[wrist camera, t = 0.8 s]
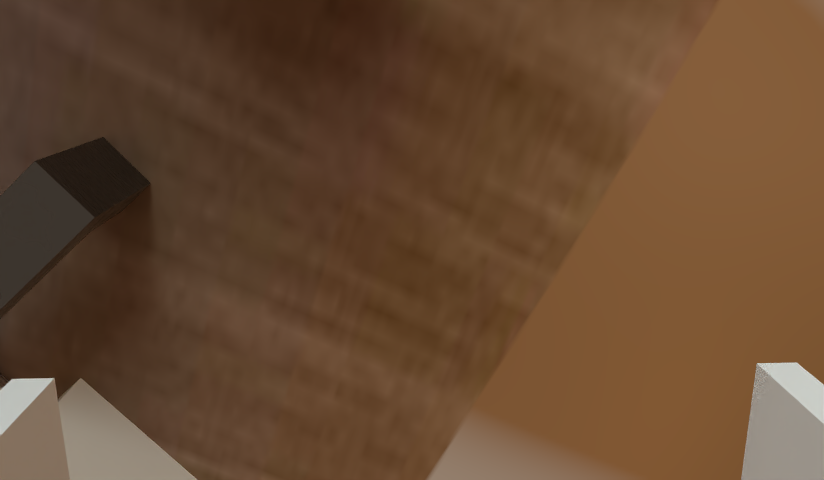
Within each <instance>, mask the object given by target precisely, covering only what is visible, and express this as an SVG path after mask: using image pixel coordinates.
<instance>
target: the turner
mask: <svg viewBox="0 0 824 480" xmlns="http://www.w3.org/2000/svg"><path fill="white" fill-rule="evenodd" d="M149 184H150V182H149V181H148V180H147V179H146V178H145V177H144V176H143V175H142V174H141V173H140V172H139V171H137V170H136V169H135V168H134V167H133V166H132V165H131V164H130V163H129V162H128V161H127V160H126V159H125V158H124V157H123V156H122V155H121V154H120V153H119V152H118V151H117V150H116V149H115V148H114V147H113V146H112V145H111V144H110V143H109V142H108V141H107V140H106V139H105V138H104V137H102V138H100V139H97V140H94V141H91V142H88V143H85V144H82V145H80V146H77V147H74V148H71V149H68V150H65V151H62V152H60V153H57V154H54V155H51V156H48V157H45V158H42V159H40V160H37V161H34V162H33V163H32V165H31V166H30V167H29V168H28V169H27V170H26V171H25V172H24V173H23V174H22V175H21V176H20V177H19V178H18V179H17V180H16V181H15V182H14V183H13V184H12V185H11V186H10V187H9V188H8V189H7V190H6V191H5V192H4V193H3V194H2V195H1V196H0V319H1V318H2V317H3V316H4V315H5V314H6V313H7V312H8V311H9V310H10V309H11V308H12V307H13V306H14V305H15V304H16V303H17V302H18V301H19V300H20V299H21V298H22V297H24V296H25V295H26V294H27V293H28V292H29V291H30V290H31V289H32V288H33V287H34V286H35V285H36V284H37V283H38V282H39V281H40V280H41V279H42V278H43V277H44V276H45V275H46V274H47V273H48V272H49V271H50V270H51V269H52V268H53V267H54V266H55V265H56V264H57V263H58V262H59V261H60V260H61V259H62V258H64V257H65V256H66V255H67V254H68V253H69V252H70V251H71V250H72V249H73V248H74V247H75V246H76V245H77V244H78V243H79V242H80V241H81V240H82V239H83V238H84V237H85V236H86V235H87V234H88V233H89V232H90V231H92V230H93V229H95V228H96V227H98V226H99V225H101V224H103V223H104V222H106V221H107V220H109V219H110V218H112V217H113V216H115V215H116V214H118V213H120V212H121V211H123V210H124V209H125V208H126V207H127V206H128V205H129V204H130V203H131V202H132V201H133V200H134V199H135V198H136V197H137V196H138V195H139V194H140V193H141V192H142V191H143V190H144V189H145V188H146V187H147V186H148V185H149ZM8 382H9V381H8V380H7V379H6V378H5V377H4V376H2V375H1V374H0V390H1V389H2V388H3V387H4V386H5V385H6V384H7V383H8Z"/></svg>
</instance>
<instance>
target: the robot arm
mask: <svg viewBox="0 0 824 480" xmlns="http://www.w3.org/2000/svg"><path fill="white" fill-rule="evenodd" d="M0 480H70V476H69V470H68V463H67V457H66V450H65V443H64V437H63V430H62V424H61V417H60V411H59V404H58V398H57V391H56V385H55V378H33V379H12V380H11V381H9V382H8V383H7V384H6V385H5V386H4V387H3V388H2V389H1V390H0ZM741 480H824V385H823V384H822V383H821V382H820V381H818V380H817V379H816V378H815V377H813V376H812V375H811V374H810V373H809V372H807V371H806V370H805V369H804V368H802V367H801V366H800V365H799V364H798V363H761V364H760V363H757V367H756V375H755V382H754V389H753V397H752V404H751V411H750V419H749V426H748V433H747V441H746V449H745V455H744V463H743V470H742V478H741Z"/></svg>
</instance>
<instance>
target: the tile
mask: <svg viewBox="0 0 824 480" xmlns="http://www.w3.org/2000/svg"><path fill="white" fill-rule="evenodd" d="M58 404H59V411H60V417H61V424H62V430H63V437H64V443H65V450H66V457H67V463H68V470H69V476H70V480H197V479H196V478H195V477H194V476H192V475H191V474H190V473H189V472H188V471H187V470H186V469H184V468H183V467H182V466H181V465H180V464H179V463H178V462H176V461H175V460H174V459H173V458H172V457H171V456H170V455H168V454H167V453H166V452H165V451H164V450H163V449H162V448H160V447H159V446H158V445H157V444H156V443H155V442H154V441H152V440H151V439H150V438H149V437H148V436H147V435H146V434H144V433H143V432H142V431H141V430H140V429H139V428H138V427H136V426H135V425H134V424H133V423H132V422H131V421H130V420H128V419H127V418H126V417H125V416H124V415H123V414H121V413H120V412H119V411H118V410H117V409H116V408H115V407H113V406H112V405H111V404H110V403H109V402H108V401H107V400H105V399H104V398H103V397H102V396H101V395H100V394H99V393H97V392H96V391H95V390H94V389H93V388H92V387H91V386H89V385H88V384H87V383H86V382H85V381H84V380H83V379H81V378H80V379H79V380H78V381H76V382H75V383H74V384H73V385H72V386H71V387H70V388H69V389H68V390H67V391H66V392H65V393H64V394H63V395H61V396H60V397H59V398H58Z"/></svg>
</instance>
